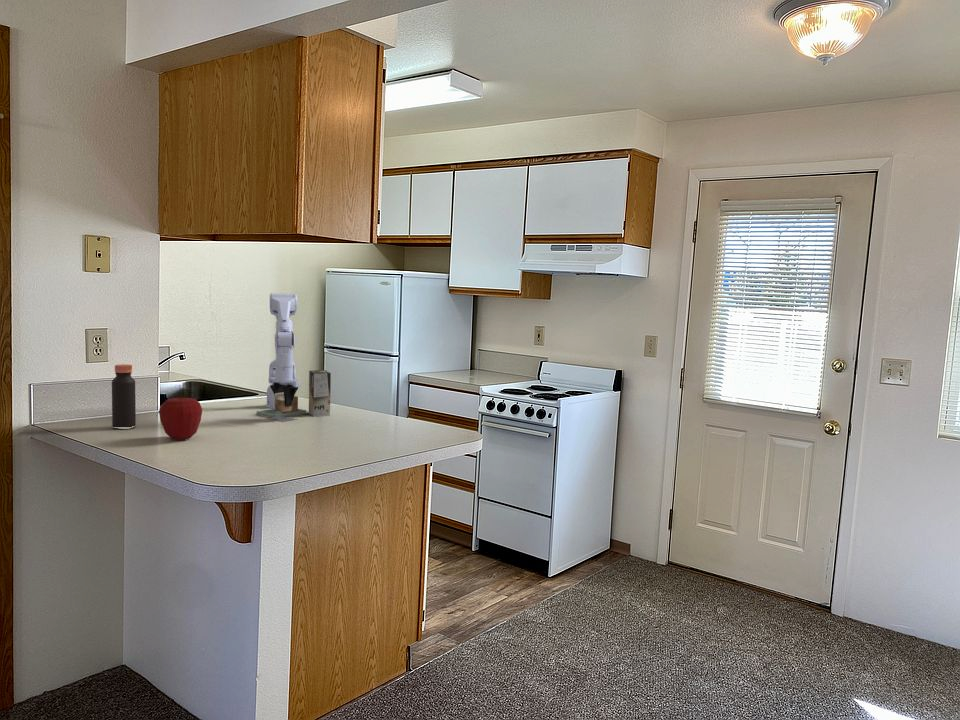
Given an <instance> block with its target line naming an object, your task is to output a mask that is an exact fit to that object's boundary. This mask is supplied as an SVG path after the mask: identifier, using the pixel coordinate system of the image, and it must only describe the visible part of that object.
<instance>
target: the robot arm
mask: <svg viewBox="0 0 960 720" xmlns="http://www.w3.org/2000/svg"><path fill="white" fill-rule="evenodd" d="M297 309H298V295H297V294H296V293H273V292H271V293H270V294H269V312H270V314H271V315H272V316H275V319H276V321H275V333H274V349H275V350H274V351H275V359H274V360H272V361H271V362H270V363H269V366H268V367H269V368H268V384H270V385H268V386H267V389H266V405H264V407H265V408H266V407H267V408H270V409H275V393H283V392H284V398H285V407H289V406H291V405H292V401H293V398H294V396H296V393H297V391H298V389H299V388H300V387H301V380H297V379H296V378H297V377H296V374H297V371H296V369H297V368H296V363H295V362H294V349H295V344H296V343H295V341H296V340H295V332H294V330H293V328H294V327H293V325H294V324H293V321H292V320H291V319H290V318H291V316H292V317H293V316H295V315H296V313H297Z"/></svg>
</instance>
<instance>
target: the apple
mask: <svg viewBox="0 0 960 720" xmlns="http://www.w3.org/2000/svg"><path fill="white" fill-rule="evenodd" d="M158 414H159V419H160V424H161V425H162V429H163V430H164V433H165V434H166V435H167V437H169V438H171V440H173V439H175V441H185V440H184V439H188V440H190V439H191V438H192V437H193V436H194V435H196V434H197V432H198V428H199V427H200V423H201V421H202V416H203V407H202V405H201V403H200V402H199V401H198V400H197V399H196V398H193V397H182V395H180V397H173V398H168V399H166V400H165V401H164V402H163V403H162V404H161V405H160V408H159V411H158ZM189 438H190V439H189Z"/></svg>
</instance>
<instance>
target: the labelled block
mask: <svg viewBox="0 0 960 720" xmlns="http://www.w3.org/2000/svg"><path fill="white" fill-rule="evenodd" d="M274 409H275V411H279V412H287V411H292V405H291V406H289V407H285V398H284V392H283V393H275V408H274Z"/></svg>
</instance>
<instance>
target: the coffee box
mask: <svg viewBox="0 0 960 720" xmlns="http://www.w3.org/2000/svg"><path fill="white" fill-rule="evenodd" d="M331 375H332V373H331V372H330V371H328V370H325V369H324V370H323V369H321V370H308V414H309V415H311V416H312V417H330V416H331V392H332V391H331V386H332V385H331V381H332V380H331V378H332V377H331Z"/></svg>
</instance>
